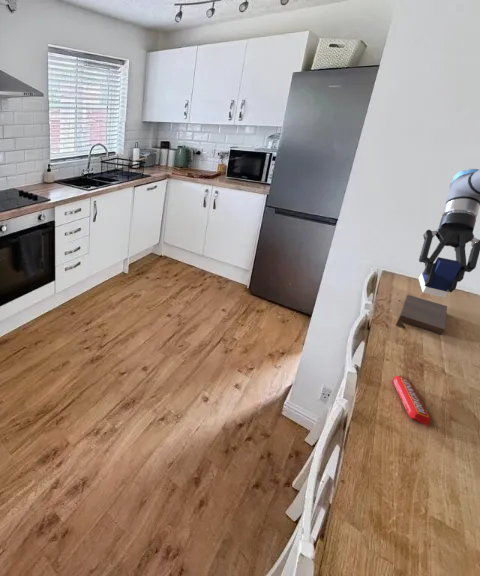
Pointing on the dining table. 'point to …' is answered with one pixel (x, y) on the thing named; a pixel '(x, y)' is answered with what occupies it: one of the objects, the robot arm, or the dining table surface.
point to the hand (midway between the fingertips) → (439, 287)
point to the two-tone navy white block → (441, 277)
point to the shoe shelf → (423, 314)
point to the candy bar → (411, 400)
